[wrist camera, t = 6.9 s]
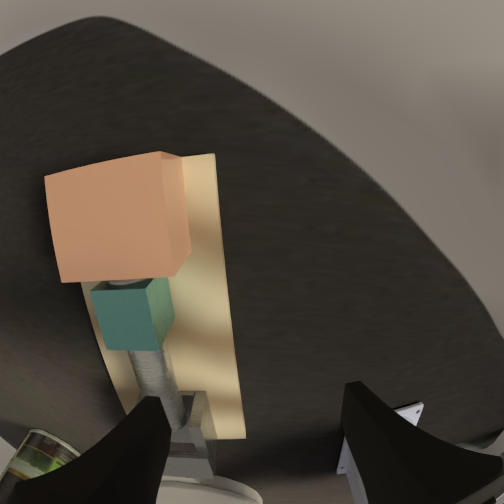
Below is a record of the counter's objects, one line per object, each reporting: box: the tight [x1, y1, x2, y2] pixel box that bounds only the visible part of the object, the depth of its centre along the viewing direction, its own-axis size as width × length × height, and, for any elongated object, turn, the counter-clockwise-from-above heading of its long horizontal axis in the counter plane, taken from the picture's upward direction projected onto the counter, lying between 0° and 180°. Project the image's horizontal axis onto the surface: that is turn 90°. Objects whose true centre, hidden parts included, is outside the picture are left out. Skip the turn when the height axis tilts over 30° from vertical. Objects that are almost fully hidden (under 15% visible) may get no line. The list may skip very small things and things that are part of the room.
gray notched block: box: [133, 391, 218, 479], centre depth 18 cm, size 6×5×4 cm
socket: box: [45, 151, 192, 283], centre depth 14 cm, size 6×6×4 cm
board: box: [81, 154, 246, 439], centre depth 19 cm, size 22×10×1 cm, turn 4°
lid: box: [156, 476, 263, 504], centre depth 24 cm, size 17×20×3 cm
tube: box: [90, 277, 188, 432], centre depth 16 cm, size 15×3×4 cm, turn 4°
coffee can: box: [0, 429, 81, 504], centre depth 17 cm, size 10×10×14 cm
